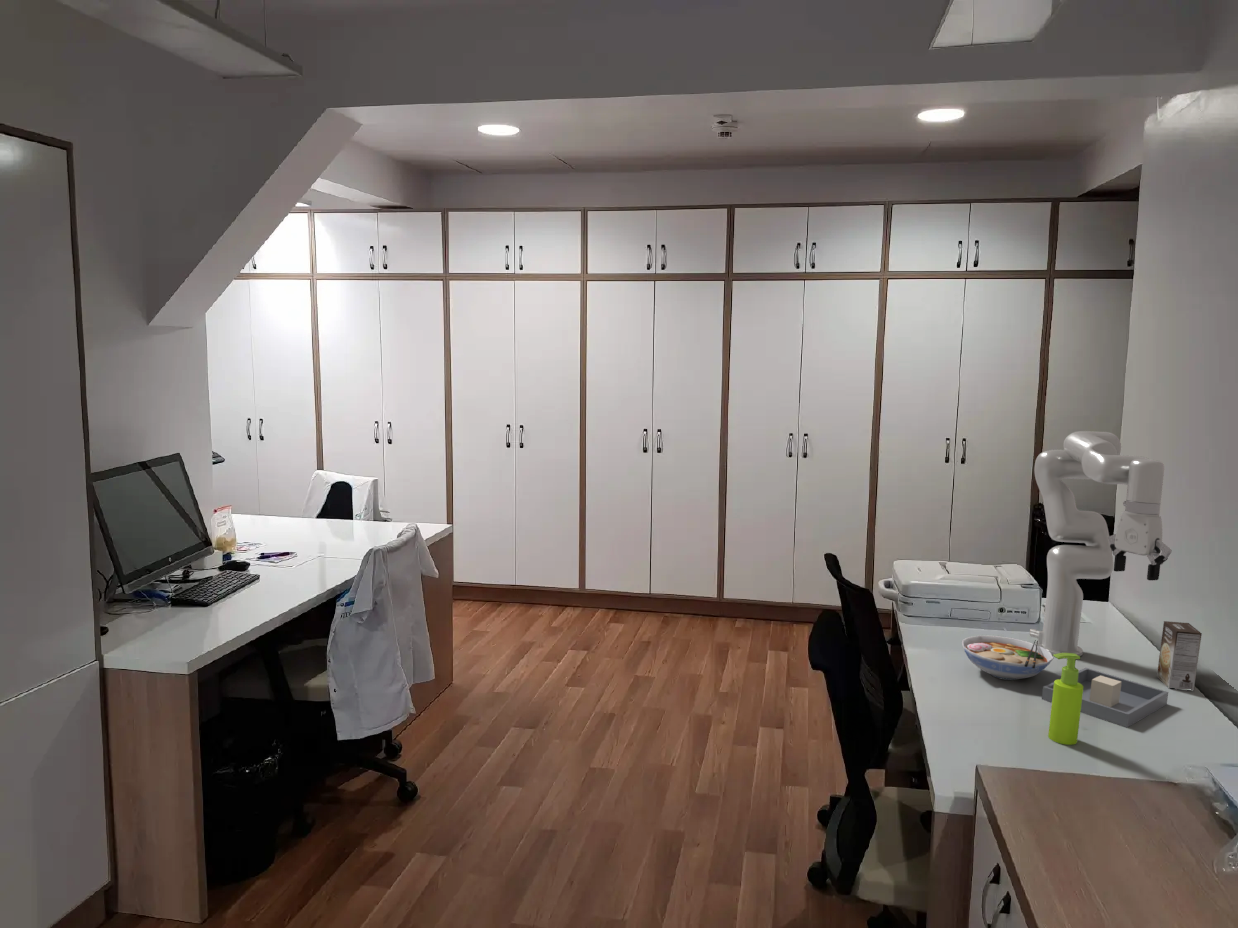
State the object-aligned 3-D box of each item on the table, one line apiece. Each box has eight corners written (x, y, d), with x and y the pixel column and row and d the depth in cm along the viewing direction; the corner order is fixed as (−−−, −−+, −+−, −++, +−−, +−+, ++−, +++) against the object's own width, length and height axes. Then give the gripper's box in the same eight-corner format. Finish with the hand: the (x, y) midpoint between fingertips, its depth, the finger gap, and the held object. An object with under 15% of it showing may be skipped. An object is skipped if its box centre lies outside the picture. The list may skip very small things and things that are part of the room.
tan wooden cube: (1089, 700, 224) (1091, 679, 223) (1098, 695, 227) (1100, 675, 226) (1110, 707, 220) (1112, 685, 220) (1119, 702, 223) (1121, 681, 223)
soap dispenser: (1038, 733, 205) (1047, 649, 203) (1067, 733, 206) (1076, 649, 203) (1053, 744, 199) (1062, 658, 197) (1082, 744, 200) (1092, 659, 197)
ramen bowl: (966, 653, 258) (969, 626, 257) (1054, 670, 247) (1057, 642, 246) (951, 680, 237) (954, 650, 235) (1046, 700, 225) (1049, 669, 224)
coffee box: (1155, 676, 245) (1162, 620, 243) (1181, 679, 244) (1188, 622, 242) (1168, 689, 236) (1176, 630, 234) (1195, 691, 235) (1203, 632, 233)
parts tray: (1041, 701, 224) (1042, 686, 223) (1084, 681, 239) (1085, 667, 239) (1126, 730, 209) (1128, 714, 208) (1166, 707, 224) (1168, 691, 223)
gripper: (1102, 503, 231) (1095, 568, 233) (1162, 514, 215) (1155, 584, 217) (1124, 503, 234) (1117, 567, 236) (1185, 514, 218) (1177, 582, 219)
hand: (1135, 575), depth 226 cm, fingers open, 9 cm apart
